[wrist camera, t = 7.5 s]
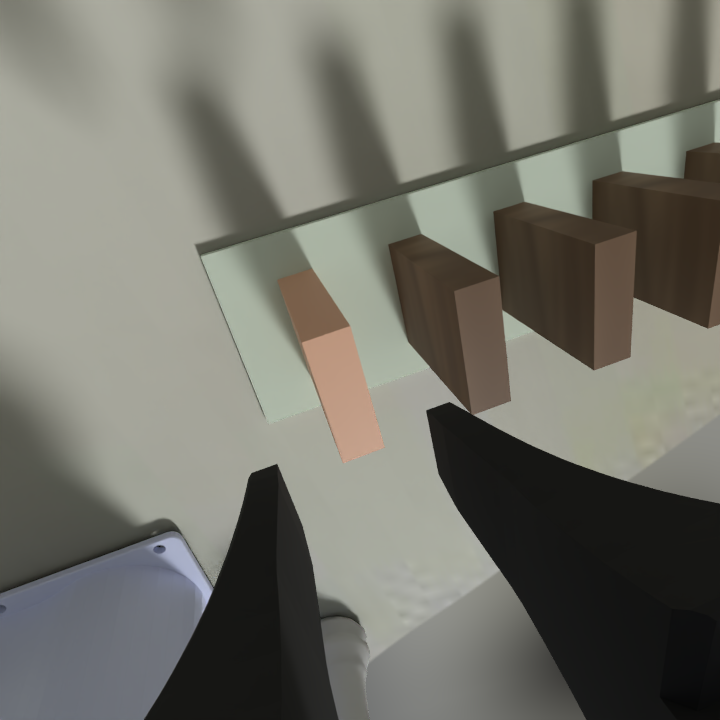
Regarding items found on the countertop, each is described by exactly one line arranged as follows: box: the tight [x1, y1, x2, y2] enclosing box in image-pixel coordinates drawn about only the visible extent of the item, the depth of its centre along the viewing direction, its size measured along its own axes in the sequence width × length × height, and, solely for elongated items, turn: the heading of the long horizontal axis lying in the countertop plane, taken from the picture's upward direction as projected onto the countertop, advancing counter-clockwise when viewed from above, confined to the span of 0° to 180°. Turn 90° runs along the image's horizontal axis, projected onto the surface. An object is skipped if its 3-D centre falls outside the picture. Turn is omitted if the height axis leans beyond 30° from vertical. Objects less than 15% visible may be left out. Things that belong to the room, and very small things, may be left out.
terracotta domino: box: [277, 269, 385, 463], centre depth 17 cm, size 1×4×6 cm, turn 13°
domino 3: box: [592, 171, 720, 328], centre depth 19 cm, size 1×4×6 cm, turn 13°
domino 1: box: [388, 234, 511, 415], centre depth 17 cm, size 1×4×6 cm, turn 13°
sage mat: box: [201, 99, 720, 424], centre depth 21 cm, size 24×8×1 cm, turn 103°
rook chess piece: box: [320, 616, 370, 720], centre depth 25 cm, size 4×4×8 cm
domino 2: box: [493, 202, 637, 370], centre depth 18 cm, size 1×4×6 cm, turn 13°
